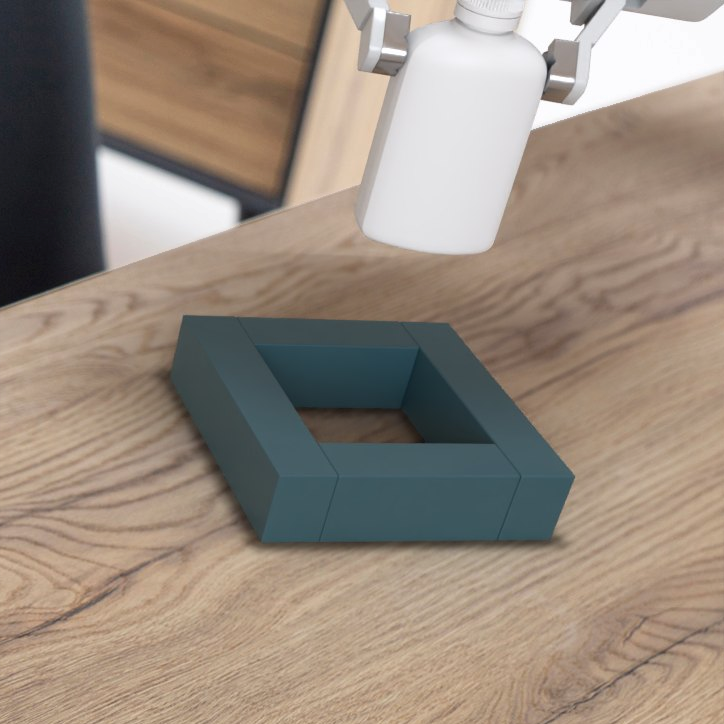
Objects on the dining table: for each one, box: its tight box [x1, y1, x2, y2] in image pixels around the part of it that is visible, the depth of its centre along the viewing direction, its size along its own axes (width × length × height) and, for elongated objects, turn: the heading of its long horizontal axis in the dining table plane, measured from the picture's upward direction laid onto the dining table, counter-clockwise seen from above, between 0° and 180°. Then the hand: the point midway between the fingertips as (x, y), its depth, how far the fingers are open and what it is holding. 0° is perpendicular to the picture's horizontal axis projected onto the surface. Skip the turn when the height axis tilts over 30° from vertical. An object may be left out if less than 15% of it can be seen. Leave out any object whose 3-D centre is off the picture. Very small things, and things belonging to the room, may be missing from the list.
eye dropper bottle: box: [353, 0, 547, 256], centre depth 66 cm, size 4×6×12 cm
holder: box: [169, 314, 576, 543], centre depth 74 cm, size 13×13×4 cm
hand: (469, 82), depth 65 cm, fingers closed on eye dropper bottle, 5 cm apart
